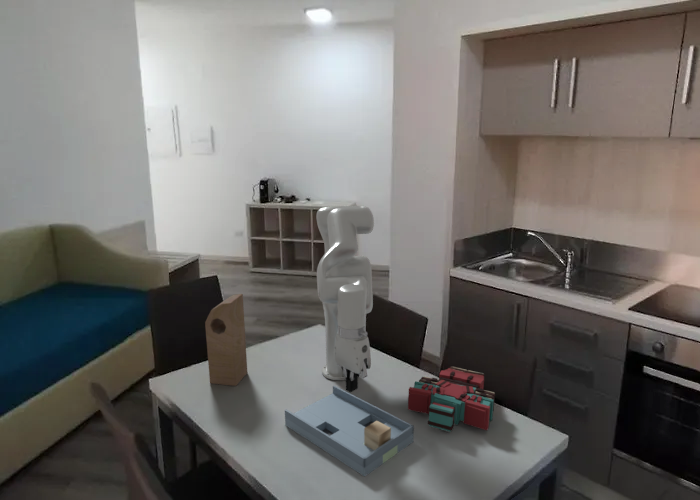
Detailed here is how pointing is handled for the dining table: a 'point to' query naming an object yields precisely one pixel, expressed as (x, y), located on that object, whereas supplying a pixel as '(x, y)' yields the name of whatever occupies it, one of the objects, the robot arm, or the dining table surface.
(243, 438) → the dining table surface
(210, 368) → the decorative block
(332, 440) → the trap board
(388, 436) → the oak block
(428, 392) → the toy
